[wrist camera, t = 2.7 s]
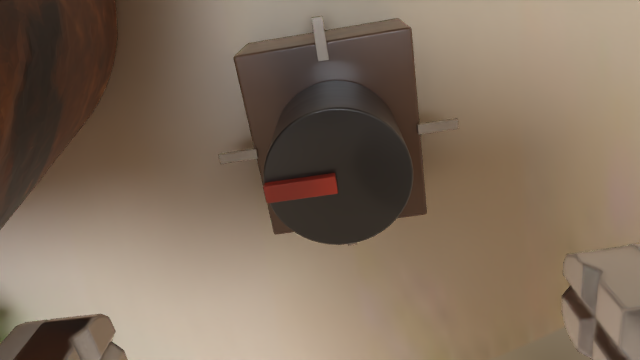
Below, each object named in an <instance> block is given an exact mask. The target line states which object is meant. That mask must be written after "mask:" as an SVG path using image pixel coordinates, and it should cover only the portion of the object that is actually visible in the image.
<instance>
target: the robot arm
mask: <svg viewBox="0 0 640 360" xmlns="http://www.w3.org/2000/svg"><path fill="white" fill-rule="evenodd" d="M563 276H564V277H565V278H566V280H567V281H568V282H569V284H570V287H569V288H568V289H567V290H566V291H565V293H564V294H563V295H562V316H563V320H564V325H565V329H566V331H567V333H568V336H569V338H570V340H571V342H572V343H573V345H574V346H575V348H576V350H577V351H578V352H580V353H582V354H583V355H585V356H587V357H589V358H591V359H592V360H640V243H635V244H629V245H628V246H621V247H613V248H606V249H599V250H592V251H585V252H578V253H570V254H566V257H565V260H564V262H563ZM115 332H116V331H115V329H114V326H113V324H112V322H111V320H110V318H109V317H108V316H105V315H103V314H94V315H84V316H75V317H66V318H56V319H50V320H40V321H32V322H25V323H23V324H20V325H18V326H16V327H15V328H14V329H13V330H12V331H11V332H10V334H9V335H8V336H7V337H6V338H5V339H4V341H3V342H2V343H1V344H0V360H128V359H127V357H126V354H125V352H124V350H123V349H121V348H120V347H119V346H117V345H116V344H114V343H113V342H112V340H113V337H114V334H115Z"/></svg>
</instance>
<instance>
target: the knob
mask: <svg viewBox="0 0 640 360" xmlns="http://www.w3.org/2000/svg"><path fill="white" fill-rule="evenodd" d="M263 182H264V186H263V189H264V194H265V198H266V202H267V203H270V206H271V208H272V209H273V211H274V212H275V214H276V215H277V216H278V217H279V219H280V220H281V221H282V222H283V223H284V224H285V225H286V226H287V227H288V228H290V229H291V230H293V231H294V232H295V233H297V234H299V235H301V236H303V237H305V238H307V239H310V240H312V241H316V242H319V243H325V244H335V245H342V244H351V243H356V242H360V241H363V240H366V239H369V238H371V237H373V236H375V235H377V234H378V233H380V232H382V231H383V230H385V229H386V228H387V227H388V226H390V225H391V224H392V223H393V222H394V221H395V220H396V219H397V217H398V216H399V215H400V214H401V212H402V211H403V209H404V207H405V206H406V204H407V202H408V199H409V197H410V194H411V190H412V185H413V165H412V160H411V157H410V154H409V151H408V148H407V146H406V144H405V141H404V139H403V137H402V134H401V132H400V130H399V127H398V125H397V123H396V120H395V118H394V116H393V114H392V112H391V110H390V109H389V107H388V106H387V104H386V103H385V102H384V101H383V100H382V99H381V98H380V97H379V96H378V95H377V94H376V93H374V92H373V91H371V90H370V89H368V88H366V87H364V86H362V85H359V84H356V83H353V82H348V81H336V80H335V81H326V82H321V83H318V84H315V85H312V86H310V87H308V88H306V89H304V90H303V91H301V92H300V93H298V94H297V95H296V96H295V97H294V98H293V99H291V100H290V102H289V103H288V104H287V105H286V107H285V108H284V110H283V111H282V113H281V115H280V118H279V120H278V123H277V126H276V129H275V132H274V135H273V138H272V141H271V144H270V147H269V150H268V153H267V156H266V159H265V163H264V170H263Z"/></svg>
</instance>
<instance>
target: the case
mask: <svg viewBox="0 0 640 360" xmlns="http://www.w3.org/2000/svg"><path fill="white" fill-rule="evenodd" d="M116 46H117V16H116V4H115V0H0V230H1V228H2V227H3V226H4V225H5V223H6V222H7V221H8V220H9V218H10V217H11V216H12V215H13V213H14V212H15V211H16V210H17V208H18V207H19V206H20V205H21V203H22V202H23V201H24V199H25V198H26V197H27V196H28V194H29V193H30V192H31V191H32V189H33V188H34V187H35V186H36V184H37V183H38V182H39V180H40V179H41V178H42V177H43V175H44V174H45V173H46V171H47V170H48V169H49V167H50V166H51V165H52V164H53V162H54V161H55V160H56V158H57V157H58V156H59V155H60V153H61V152H62V151H63V150H64V148H65V147H66V146H67V145H68V143H69V142H70V141H71V140H72V138H73V137H74V136H75V135H76V133H77V132H78V131H79V129H80V128H81V127H82V126H83V124H84V123H85V122H86V121H87V119H88V118H89V116H90V115H91V114H92V112H93V111H94V109H95V107H96V106H97V104H98V102H99V101H100V99H101V97H102V95H103V93H104V90H105V88H106V86H107V83H108V80H109V77H110V74H111V71H112V68H113V64H114V58H115V52H116Z"/></svg>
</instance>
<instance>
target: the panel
mask: <svg viewBox="0 0 640 360" xmlns="http://www.w3.org/2000/svg"><path fill="white" fill-rule="evenodd" d="M311 20H312V26H313V33H307V34H301V35H295V36H289V37H283V38H277V39H272V40H266V41H260V42H254V43H248V44H247V45H246V46H245V47H244V48H243V49H241V50H240V51H239V52H238V53H237V54H236V55H235V56H234V62H235V67H236V71H237V75H238V80H239V84H240V88H241V93H242V97H243V101H244V106H245V110H246V114H247V119H248V123H249V127H250V132H251V136H252V140H253V145H254V149H247V150H241V151H234V152H227V153H221V154H219V155H218V156H219V160H220V163H221V164H224V163H231V162H238V161H245V160H251V159H257V162H258V166H259V171H260V175H261V179H262V184H263V186H264V182H263V170H264V163H265V159H266V156H267V153H268V150H269V147H270V144H271V141H272V138H273V135H274V132H275V129H276V126H277V123H278V120H279V118H280V115H281V113H282V111H283V110H284V108H285V107H286V105H287V104H288V103H289V102H290V100H291V99H293V98H294V97H295V96H296V95H297V94H298V93H300V92H301V91H303V90H304V89H306V88H308V87H310V86H312V85H315V84H318V83H321V82H326V81H335V80H336V81H348V82H353V83H356V84H359V85H362V86H364V87H366V88H368V89H370V90H371V91H373V92H374V93H376V94H377V95H378V96H379V97H380V98H381V99H382V100H383V101H384V102H385V103H386V104H387V106H388V107H389V109H390V110H391V112H392V114H393V116H394V118H395V120H396V123H397V125H398V127H399V130H400V132H401V134H402V137H403V139H404V141H405V144H406V146H407V148H408V151H409V154H410V157H411V160H412V165H413V185H412V190H411V194H410V197H409V199H408V202H407V204H406V206H405V207H404V209H403V211H402V212H401V214H400V215H399V216H398V217H397V218H401V217H409V216H416V215H424V214H426V213H427V207H426V196H425V184H424V172H423V160H422V148H421V136H420V135H421V134H428V133H434V132H441V131H448V130H455V129H458V119H457V118H455V119H448V120H441V121H435V122H428V123H421V124H419V112H418V101H417V89H416V77H415V65H414V53H413V41H412V29H411V27H409V26H408V25H407V24H405V23H404V22H403V21H401V20H400V19H398V18H397V19H391V20H385V21H379V22H373V23H367V24H361V25H355V26H349V27H343V28H337V29H331V30H324V24H323V17H322V16H318V17H312V18H311ZM267 205H268V209H269V214H270V218H271V222H272V227H273V231H274V234H282V233H290V232H294V231H293V230H291V229H290V228H288V227H287V226H286V225H285V224H284V223H283V222H282V221H281V220H280V219H279V217H278V216H277V215H276V214H275V212H274V211H273V209H272V208H271V206H270V203H267ZM356 244H357V242H356V243H351V244H348V245H356Z"/></svg>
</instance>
